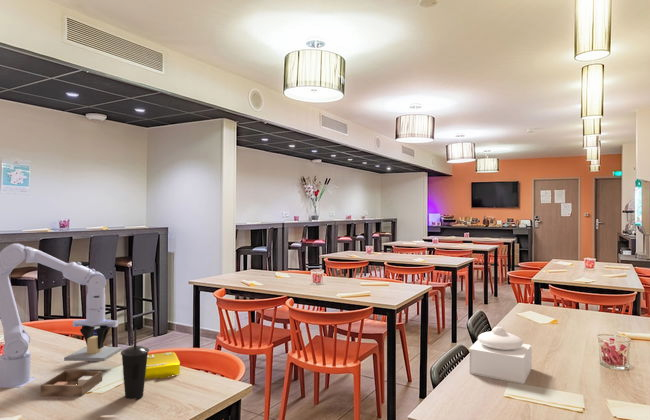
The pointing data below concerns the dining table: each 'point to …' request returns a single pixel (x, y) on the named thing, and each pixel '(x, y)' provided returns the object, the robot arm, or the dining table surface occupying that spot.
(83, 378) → the cream block
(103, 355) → the lid
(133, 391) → the drinking cup
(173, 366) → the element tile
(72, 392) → the box
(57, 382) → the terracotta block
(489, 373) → the white lidded container
